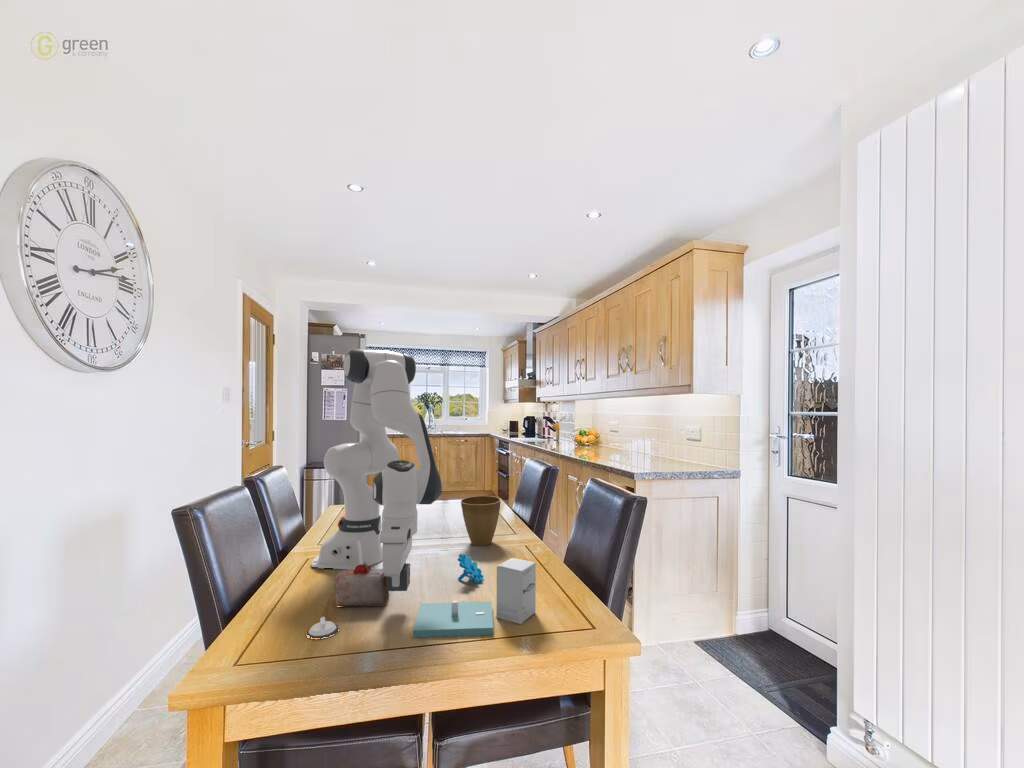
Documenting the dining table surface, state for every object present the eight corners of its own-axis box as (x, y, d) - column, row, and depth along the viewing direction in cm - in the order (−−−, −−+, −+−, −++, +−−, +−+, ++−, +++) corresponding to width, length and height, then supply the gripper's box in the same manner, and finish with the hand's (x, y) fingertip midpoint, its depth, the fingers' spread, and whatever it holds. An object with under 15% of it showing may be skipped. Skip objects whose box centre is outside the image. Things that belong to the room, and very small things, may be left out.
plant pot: (478, 534, 183) (478, 494, 183) (508, 541, 174) (508, 498, 175) (452, 544, 171) (452, 500, 171) (483, 552, 162) (483, 506, 163)
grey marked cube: (386, 591, 116) (386, 570, 116) (390, 582, 121) (390, 563, 121) (406, 590, 116) (407, 570, 116) (409, 582, 121) (410, 563, 121)
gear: (479, 583, 130) (456, 555, 133) (464, 597, 131) (442, 569, 134) (489, 574, 141) (468, 548, 144) (476, 588, 141) (455, 561, 144)
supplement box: (521, 625, 110) (521, 571, 110) (495, 617, 114) (495, 565, 114) (536, 613, 116) (536, 561, 116) (511, 606, 120) (511, 556, 120)
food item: (330, 610, 118) (331, 570, 118) (340, 597, 126) (340, 560, 126) (385, 608, 118) (385, 569, 119) (391, 595, 126) (391, 559, 127)
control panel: (412, 637, 104) (412, 616, 104) (420, 609, 118) (420, 591, 118) (493, 634, 105) (493, 614, 106) (491, 606, 119) (491, 589, 119)
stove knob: (304, 644, 102) (304, 631, 102) (305, 629, 108) (305, 616, 109) (340, 637, 105) (340, 624, 105) (338, 623, 111) (338, 611, 111)
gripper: (394, 515, 129) (393, 565, 128) (378, 538, 108) (376, 598, 108) (417, 515, 129) (416, 565, 129) (405, 538, 109) (404, 597, 108)
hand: (398, 580), depth 118 cm, fingers closed on grey marked cube, 5 cm apart
